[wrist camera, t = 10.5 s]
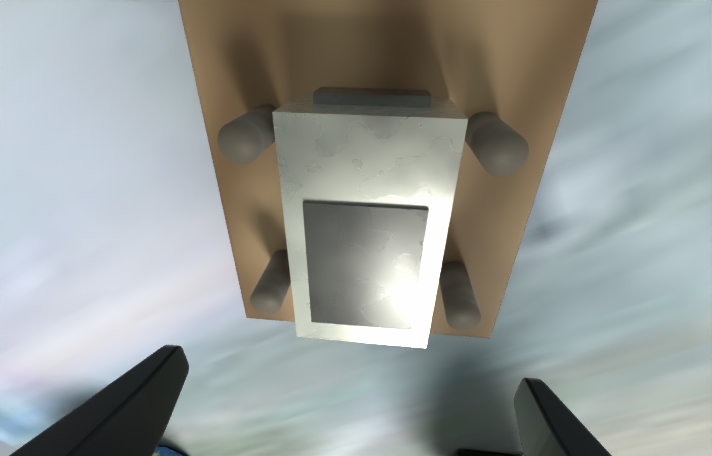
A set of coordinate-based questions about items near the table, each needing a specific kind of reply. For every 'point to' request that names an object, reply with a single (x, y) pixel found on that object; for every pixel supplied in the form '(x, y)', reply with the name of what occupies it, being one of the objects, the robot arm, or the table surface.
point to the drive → (367, 209)
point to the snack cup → (165, 452)
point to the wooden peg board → (388, 71)
